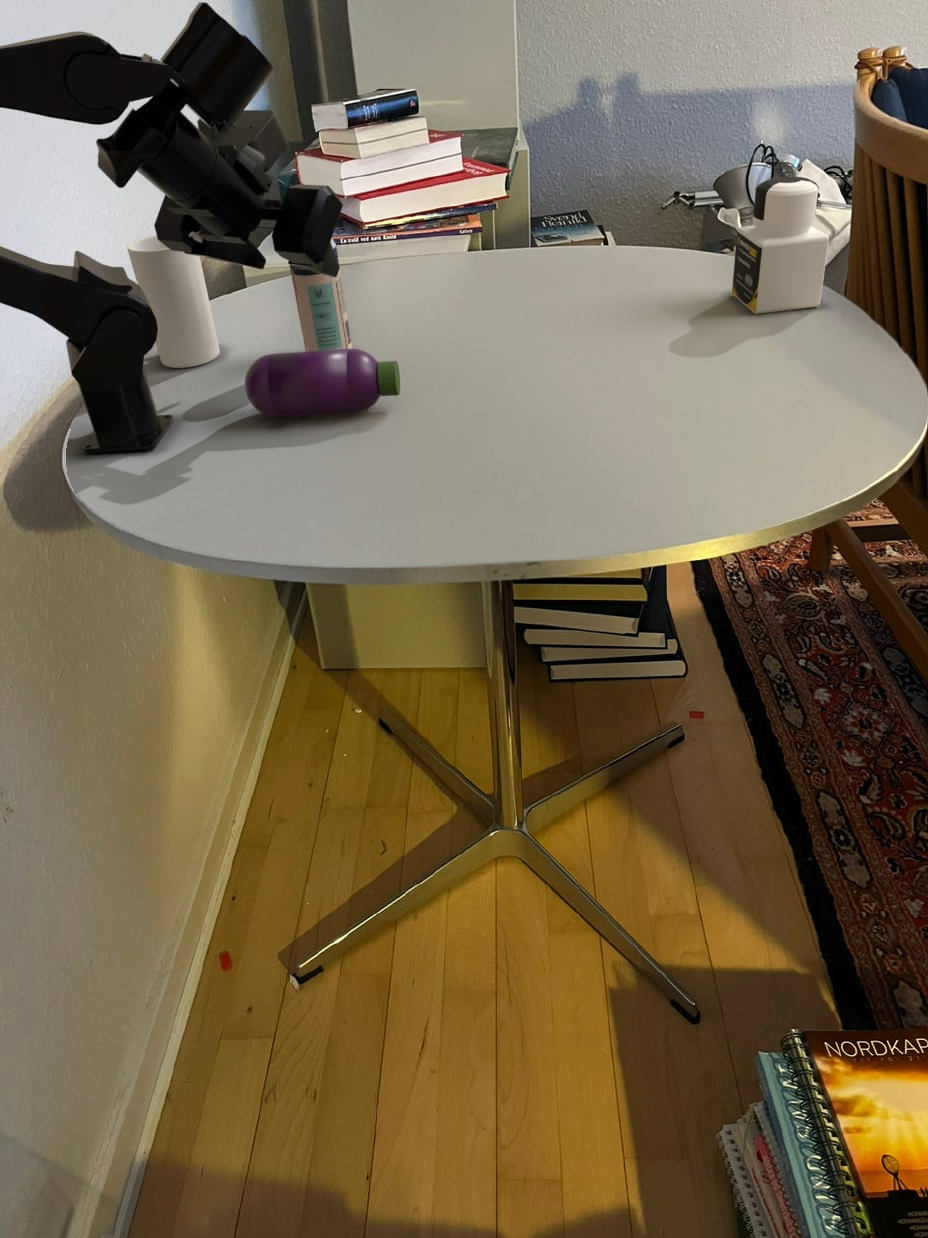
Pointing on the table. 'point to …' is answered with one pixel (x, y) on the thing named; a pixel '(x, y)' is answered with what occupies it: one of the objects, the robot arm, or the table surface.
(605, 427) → the table surface
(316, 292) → the pink upright cylinder
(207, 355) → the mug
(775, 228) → the medicine bottle
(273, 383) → the eggplant
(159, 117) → the robot arm
